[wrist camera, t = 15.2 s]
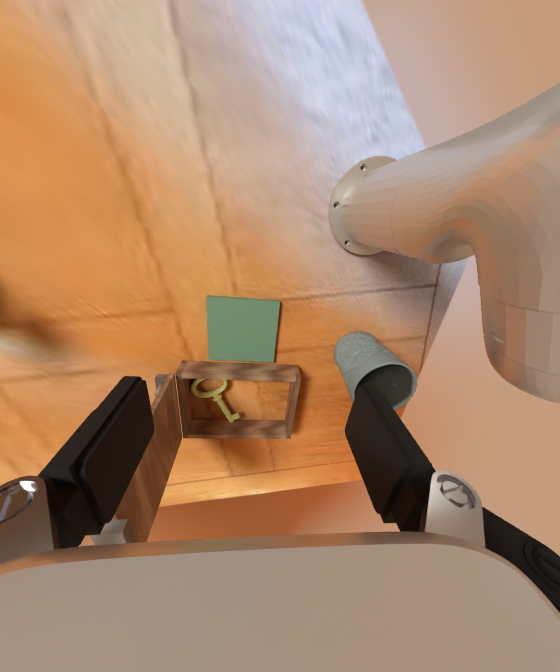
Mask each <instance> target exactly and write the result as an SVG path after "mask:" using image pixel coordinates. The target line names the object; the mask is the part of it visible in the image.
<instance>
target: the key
mask: <svg viewBox="0 0 560 672" xmlns="http://www.w3.org/2000/svg"><path fill="white" fill-rule="evenodd" d="M202 380H204V379H195V380H194V382H193V383H192V388H191V389H192V392H193V394H194V395H195V396H197V397H200V398H208V397H212V396H213V397H214V398H213V401H216V402H217V403H218V405H219V407H220V408H221V410H222V411H223V413H224V414H225V416H226V418H227V419H228V421H229V422H230V423H232V422H233V421H234V420H235V419H238V418H240V417H241V416H239V413H235V414H233V415H232V414H231V413H230V411H229V409H228V408H227V406H226V404H225V403H224V401H223V400H222V394H219V393H221V392H222V391H224V389H225V388H226V387H227V384H228V380H223V382H224V384H223V385H222V386H221V387H220V388H218V389H216V390H213V391H209V392H201V391H199V390H198V389H197V388H196V386H197V385H198V383H200V382H201V381H202Z"/></svg>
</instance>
